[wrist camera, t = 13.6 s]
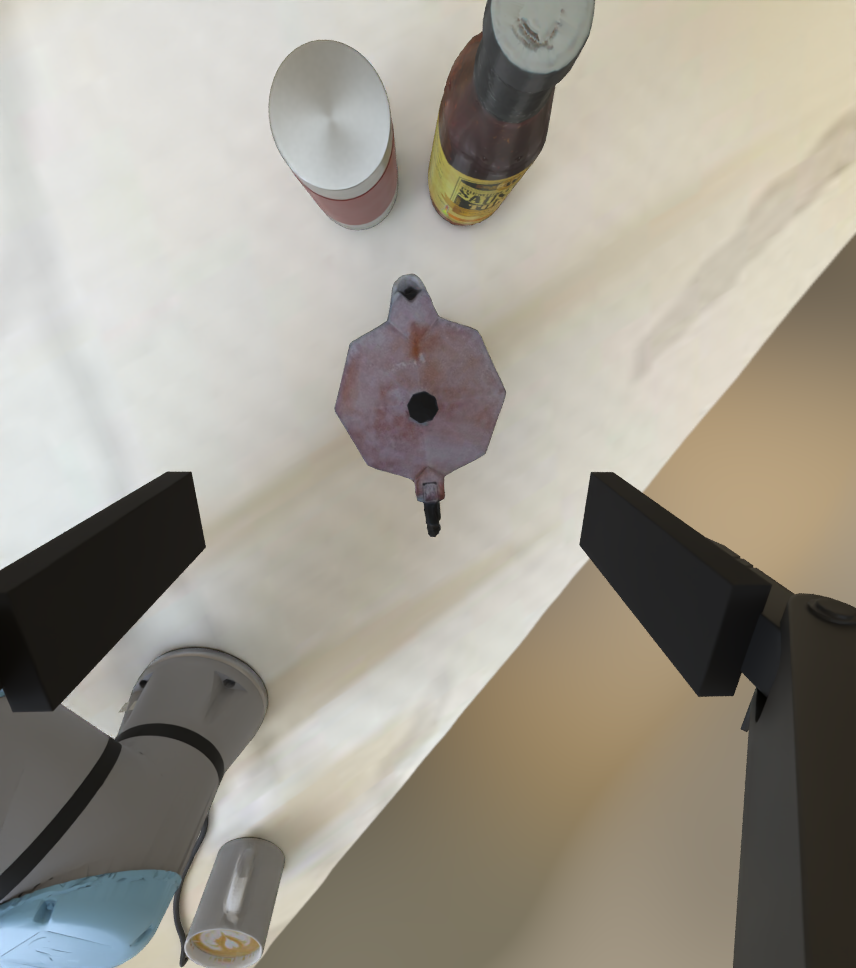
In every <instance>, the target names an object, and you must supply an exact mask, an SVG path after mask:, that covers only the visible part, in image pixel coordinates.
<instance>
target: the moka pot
mask: <svg viewBox="0 0 856 968" xmlns="http://www.w3.org/2000/svg"><path fill="white" fill-rule="evenodd" d="M505 396H506V391H505V388H504V386H503V384H502V381H501V379H500V377H499V375H498V373H497V371H496V369H495V367H494V364H493V362H492V360H491V358H490V356H489V354H488V351H487V349H486V347H485V345H484V342H483V340H482V337H481V336H480V334H479V332H478V331H477V330H475V329H473V328H471V327H468V326H464V325H461V324H458V323H455V322H451V321H448V320H446V319H444V318H441V317H439V316H438V314H437V312H436V310H435V308H434V306H433V303H432V300H431V298H430V296H429V294H428V292H427V290H426V288H425V286H424V284H423V282H422V281H421V279H420V278H419V277H418V276H416V275H415V274H408V275H403V276H401V277H400V278H398V280H397V281H396V282H395V283H394V285H393V288H392V295H391V303H390V309H389V315H388V319H387V321H386V322H385V323H383V324H382V325H380V326H378V327H377V328H375V329H373V330H372V331H370V332H368V333H366V334H364V335H363V336H361V337H359V338H357V339H356V340H354V341H352V342H351V343H350V345H349V349H348V354H347V358H346V363H345V367H344V371H343V375H342V380H341V384H340V388H339V392H338V396H337V400H336V405H335V412H336V414H337V416H338V417H339V419H340V420H341V422H342V424H343V425H344V427H345V429H346V430H347V432H348V434H349V435H350V437H351V439H352V440H353V442H354V444H355V445H356V447H357V449H358V450H359V452H360V454H361V455H362V457H363V459H364V461H365V462H366V463H367V465H368V466H370V467H373V468H375V469H377V470H382V471H386V472H389V473H392V474H396V475H400V476H403V477H406V478H409V479H411V480H412V481H413V482H414V483H415V493H416V497H417V500H418V501H420V502H423V503H424V511H425V517H426V524H427V530H428V534H429V535H430V537H436V535H437V534H439V531H440V530H441V528H440V524H439V520H440V518H441V514H440V503H439V501H441V500H443V499H444V498H445V491H444V477H445V476H446V475H448V474H449V473H451V472H453V471H454V470H457V469H458V468H460V467H462V466H464V465H466V464H468V463H470V462H472V461H474V460H476V459H478V458H479V457H481V456H483V455H484V454H485V453H486V451H487V448H488V445H489V442H490V440H491V437H492V434H493V431H494V428H495V425H496V422H497V419H498V416H499V413H500V410H501V408H502V405H503V402H504V399H505Z"/></svg>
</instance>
